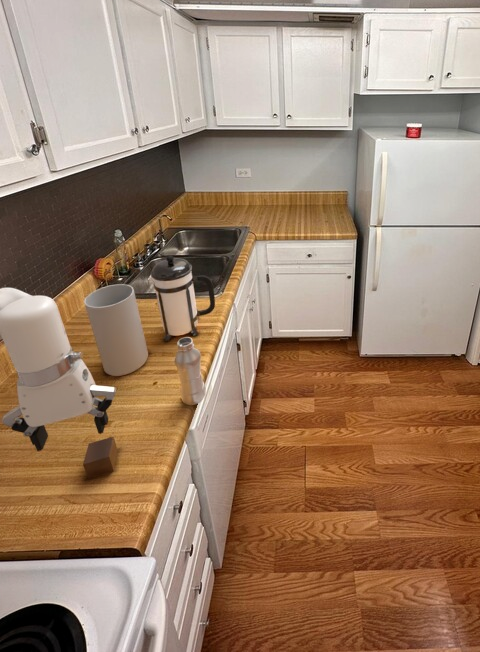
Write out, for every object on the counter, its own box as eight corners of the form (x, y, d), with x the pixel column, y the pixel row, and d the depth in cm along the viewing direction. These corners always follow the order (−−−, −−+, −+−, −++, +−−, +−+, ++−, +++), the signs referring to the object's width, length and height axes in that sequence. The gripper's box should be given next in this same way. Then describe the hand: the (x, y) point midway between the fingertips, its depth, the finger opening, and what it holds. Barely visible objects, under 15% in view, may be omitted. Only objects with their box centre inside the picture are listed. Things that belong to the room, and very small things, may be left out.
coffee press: (179, 350, 111) (165, 271, 100) (150, 333, 119) (134, 258, 108) (219, 323, 125) (210, 251, 114) (190, 309, 132) (180, 241, 122)
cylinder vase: (129, 344, 113) (113, 281, 104) (157, 354, 109) (143, 288, 100) (94, 370, 102) (73, 302, 93) (124, 382, 98) (105, 311, 89)
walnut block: (88, 479, 73) (82, 464, 71) (93, 458, 77) (88, 443, 76) (114, 471, 75) (109, 456, 73) (118, 451, 79) (113, 436, 77)
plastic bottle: (188, 388, 96) (178, 332, 89) (210, 390, 96) (202, 334, 88) (177, 407, 90) (165, 349, 83) (201, 409, 90) (191, 351, 82)
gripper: (108, 339, 63) (127, 405, 69) (-5, 362, 57) (26, 432, 63) (100, 367, 56) (121, 437, 63) (-30, 396, 51) (8, 470, 57)
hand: (73, 435), depth 63 cm, fingers open, 9 cm apart
